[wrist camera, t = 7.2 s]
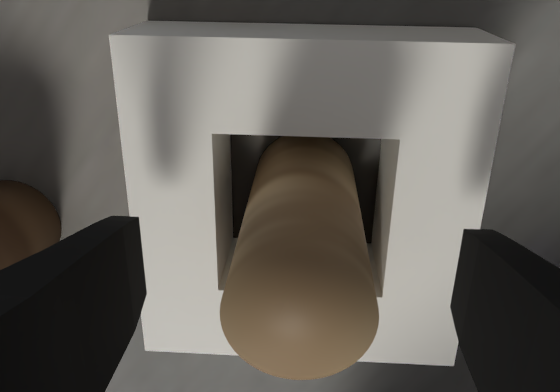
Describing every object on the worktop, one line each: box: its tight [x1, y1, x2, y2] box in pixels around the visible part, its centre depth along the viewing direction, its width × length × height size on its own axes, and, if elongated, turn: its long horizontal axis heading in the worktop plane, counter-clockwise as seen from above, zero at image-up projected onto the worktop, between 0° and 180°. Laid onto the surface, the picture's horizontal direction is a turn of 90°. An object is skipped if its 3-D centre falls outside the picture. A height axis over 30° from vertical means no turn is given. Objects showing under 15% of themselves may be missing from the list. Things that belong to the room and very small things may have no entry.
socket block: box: [109, 21, 515, 366], centre depth 15 cm, size 9×9×3 cm
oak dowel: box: [220, 136, 379, 380], centre depth 13 cm, size 3×3×7 cm
